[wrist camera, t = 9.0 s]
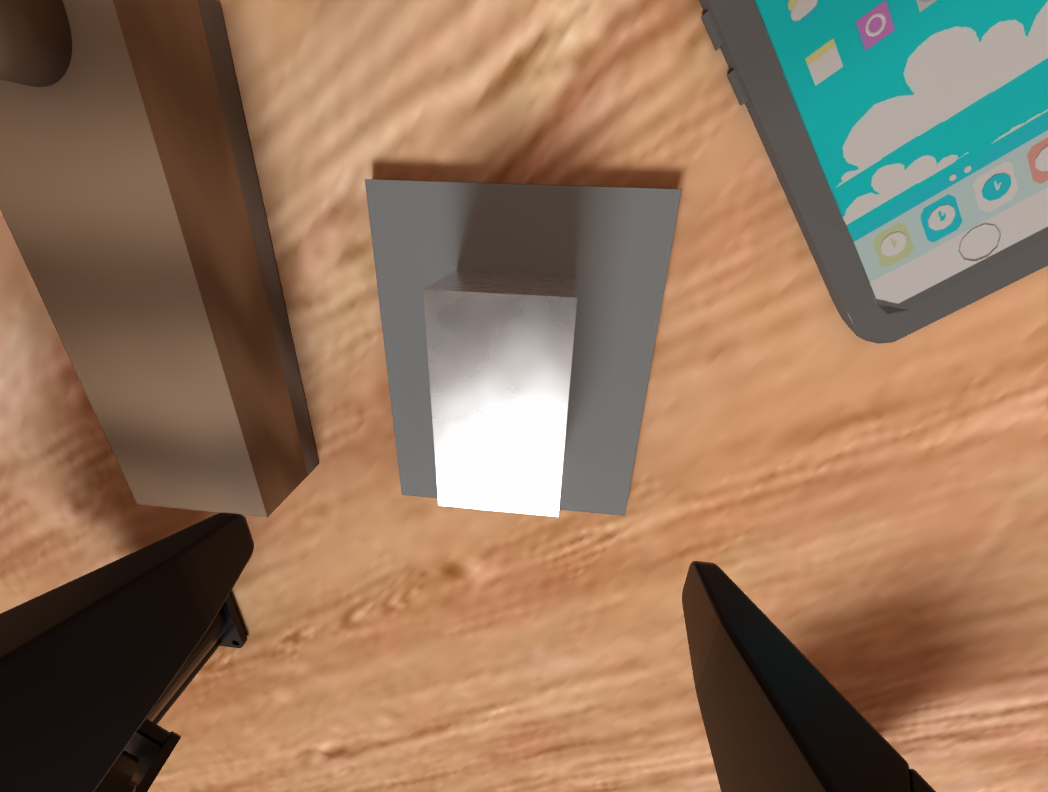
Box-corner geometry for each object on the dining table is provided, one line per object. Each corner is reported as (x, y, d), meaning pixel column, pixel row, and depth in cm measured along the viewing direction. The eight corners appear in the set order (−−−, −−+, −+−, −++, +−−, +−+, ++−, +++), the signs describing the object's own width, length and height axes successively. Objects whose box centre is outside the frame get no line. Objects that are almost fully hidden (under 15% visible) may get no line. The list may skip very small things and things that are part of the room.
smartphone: (862, 360, 16) (671, -73, 11) (846, 352, 16) (663, -52, 12) (1155, 215, 13) (1054, -430, 8) (1116, 215, 14) (1007, -370, 9)
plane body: (318, 463, 21) (222, 563, 15) (209, 453, 22) (74, 547, 16) (218, -2, 13) (-54, -159, 8) (52, -1, 14) (-327, -149, 8)
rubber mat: (623, 507, 20) (624, 515, 20) (406, 487, 21) (401, 494, 21) (677, 189, 14) (681, 189, 14) (372, 180, 15) (364, 179, 15)
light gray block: (560, 456, 19) (558, 516, 15) (463, 448, 19) (438, 505, 16) (575, 275, 15) (577, 297, 12) (456, 269, 16) (423, 289, 12)
